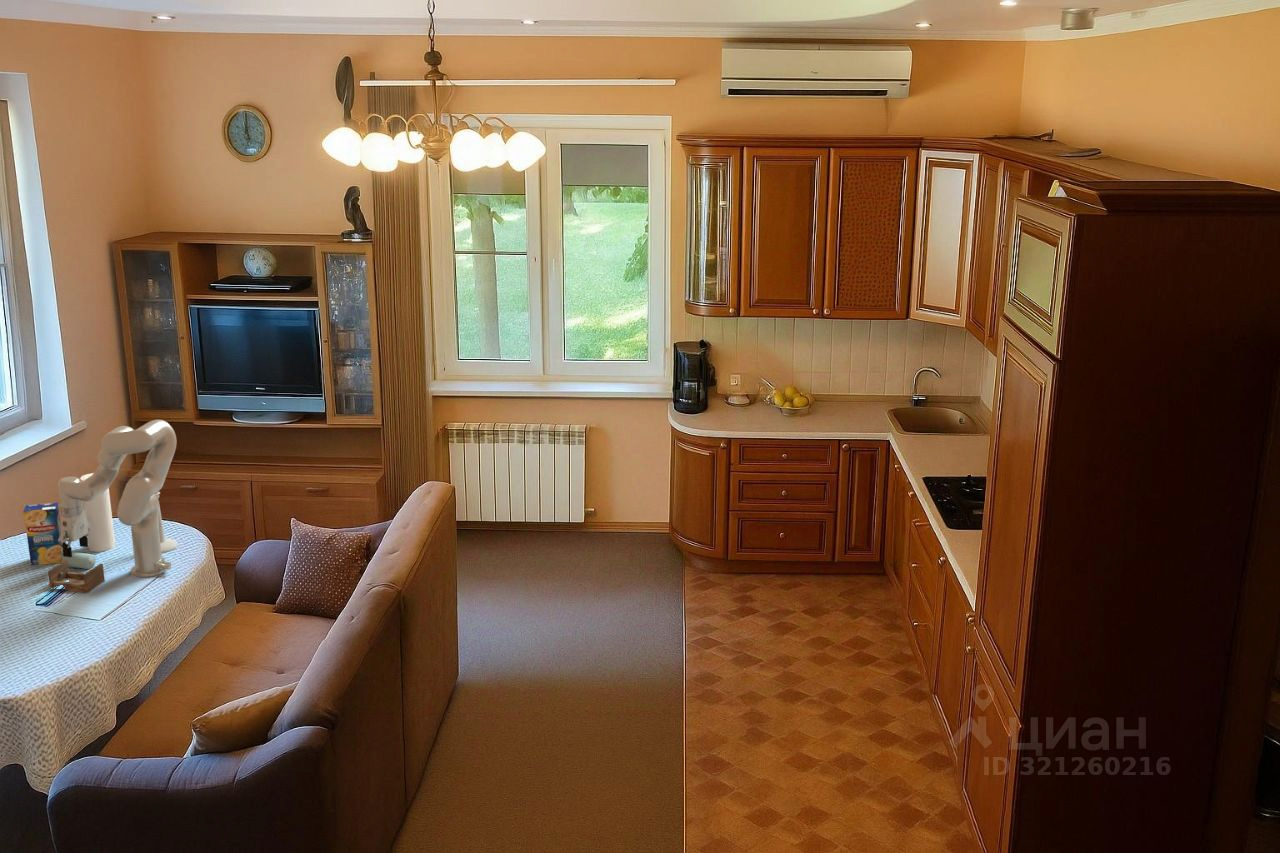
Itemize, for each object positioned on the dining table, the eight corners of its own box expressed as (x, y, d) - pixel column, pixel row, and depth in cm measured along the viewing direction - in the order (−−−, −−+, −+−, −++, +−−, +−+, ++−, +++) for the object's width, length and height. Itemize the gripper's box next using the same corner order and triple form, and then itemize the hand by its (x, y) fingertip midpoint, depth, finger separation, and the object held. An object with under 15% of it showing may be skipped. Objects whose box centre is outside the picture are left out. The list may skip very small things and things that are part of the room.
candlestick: (136, 550, 440) (128, 479, 431) (158, 538, 451) (151, 469, 442) (163, 555, 436) (155, 483, 427) (185, 543, 448) (178, 473, 439)
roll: (96, 564, 426) (94, 551, 424) (87, 571, 421) (85, 558, 419) (72, 562, 427) (69, 549, 425) (63, 569, 422) (60, 556, 420)
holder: (104, 581, 413) (102, 563, 411) (88, 592, 403) (85, 575, 401) (67, 577, 415) (65, 560, 413) (50, 588, 405) (47, 571, 403)
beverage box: (63, 562, 427) (55, 508, 421) (30, 565, 423) (23, 511, 417) (64, 555, 433) (58, 502, 427) (33, 558, 430) (25, 505, 423)
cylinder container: (119, 543, 446) (111, 472, 437) (106, 552, 437) (98, 480, 428) (97, 541, 447) (89, 470, 438) (84, 550, 438) (75, 478, 429)
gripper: (66, 519, 408) (70, 561, 414) (95, 502, 425) (99, 543, 430) (47, 516, 409) (52, 559, 415) (77, 500, 426) (81, 541, 431)
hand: (76, 551), depth 422 cm, fingers open, 9 cm apart
